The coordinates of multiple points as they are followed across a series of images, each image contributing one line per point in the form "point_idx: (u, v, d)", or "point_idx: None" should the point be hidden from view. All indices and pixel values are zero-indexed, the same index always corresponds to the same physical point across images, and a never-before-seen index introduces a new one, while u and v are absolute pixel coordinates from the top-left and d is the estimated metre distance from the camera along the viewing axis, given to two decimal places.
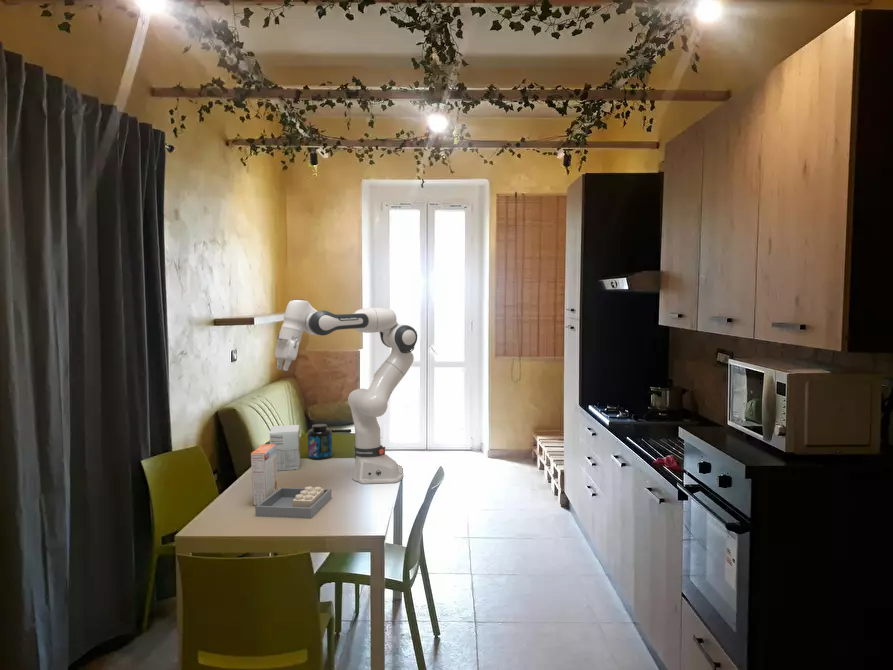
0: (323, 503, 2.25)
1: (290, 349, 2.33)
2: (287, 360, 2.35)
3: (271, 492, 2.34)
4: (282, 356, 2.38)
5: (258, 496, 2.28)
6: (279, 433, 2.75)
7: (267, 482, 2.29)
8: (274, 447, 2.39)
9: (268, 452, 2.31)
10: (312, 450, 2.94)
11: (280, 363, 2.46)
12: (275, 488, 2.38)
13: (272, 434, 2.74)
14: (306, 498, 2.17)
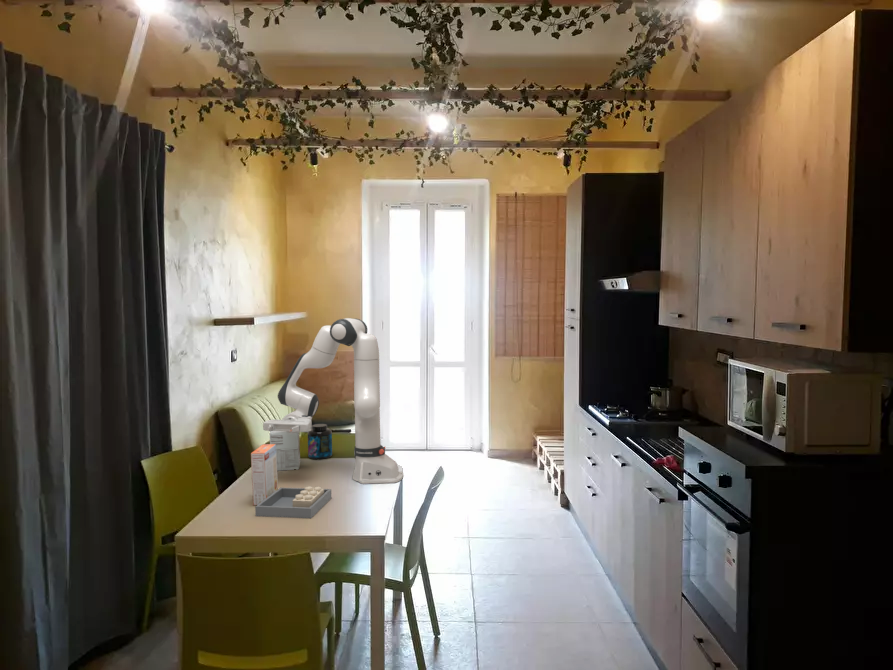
0: (323, 503, 2.25)
1: None
2: None
3: (271, 492, 2.34)
4: (279, 430, 2.55)
5: (258, 496, 2.28)
6: (279, 433, 2.75)
7: (267, 482, 2.29)
8: (274, 447, 2.39)
9: (268, 452, 2.31)
10: (312, 450, 2.94)
11: None
12: (275, 488, 2.38)
13: (272, 434, 2.74)
14: (306, 498, 2.17)
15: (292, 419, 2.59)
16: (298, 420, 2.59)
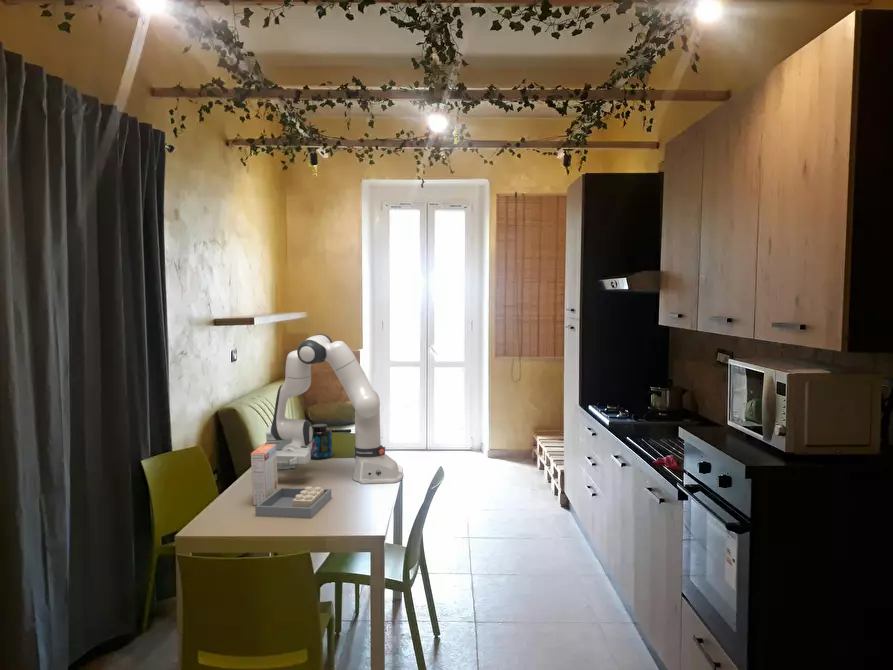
0: (323, 503, 2.25)
1: None
2: None
3: (271, 492, 2.34)
4: (278, 462, 2.53)
5: (258, 496, 2.28)
6: None
7: (267, 482, 2.29)
8: (274, 447, 2.39)
9: (268, 452, 2.31)
10: (312, 450, 2.94)
11: None
12: (275, 488, 2.38)
13: (268, 433, 2.76)
14: (306, 498, 2.17)
15: (291, 450, 2.58)
16: (297, 451, 2.57)
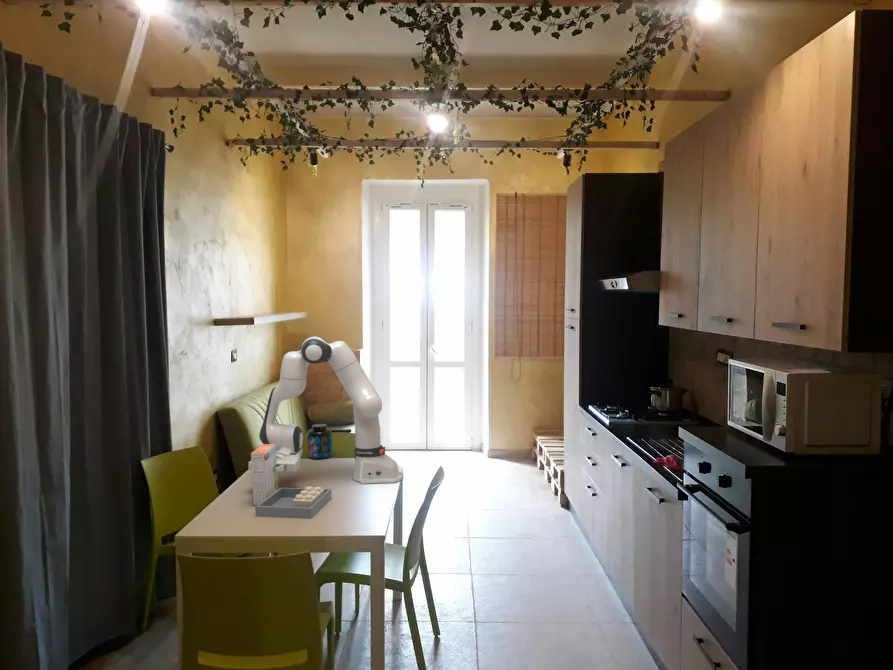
0: (323, 503, 2.25)
1: None
2: None
3: (271, 492, 2.34)
4: None
5: (258, 496, 2.28)
6: None
7: (267, 482, 2.29)
8: (274, 447, 2.39)
9: (268, 452, 2.31)
10: (312, 450, 2.94)
11: None
12: (275, 488, 2.38)
13: None
14: (306, 498, 2.17)
15: (279, 457, 2.46)
16: (285, 458, 2.46)
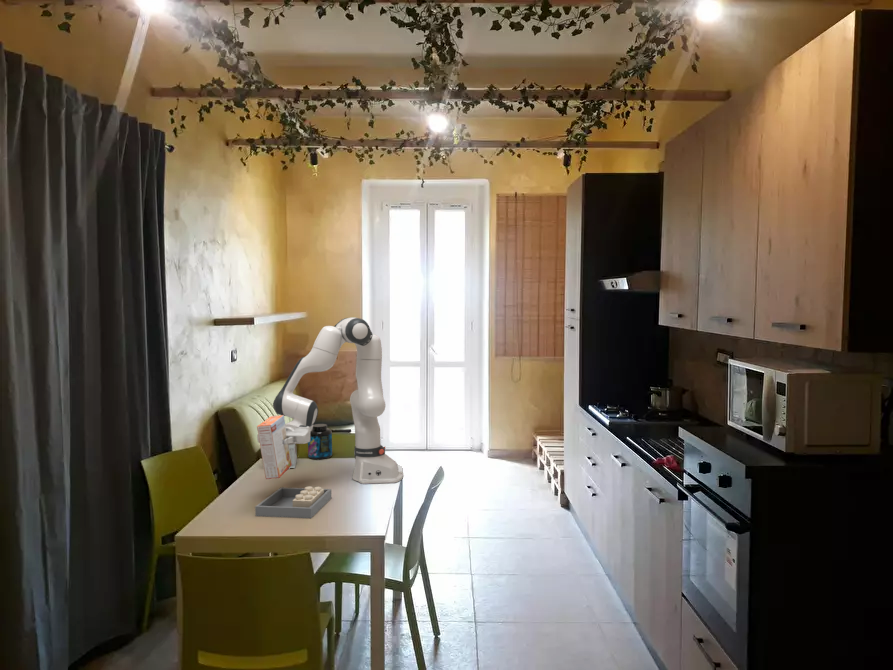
0: (323, 503, 2.25)
1: None
2: None
3: (283, 464, 2.26)
4: None
5: (270, 469, 2.21)
6: None
7: (277, 454, 2.22)
8: (282, 418, 2.30)
9: (275, 424, 2.23)
10: (312, 450, 2.94)
11: None
12: (287, 460, 2.31)
13: None
14: (306, 498, 2.17)
15: (289, 430, 2.38)
16: (295, 431, 2.38)
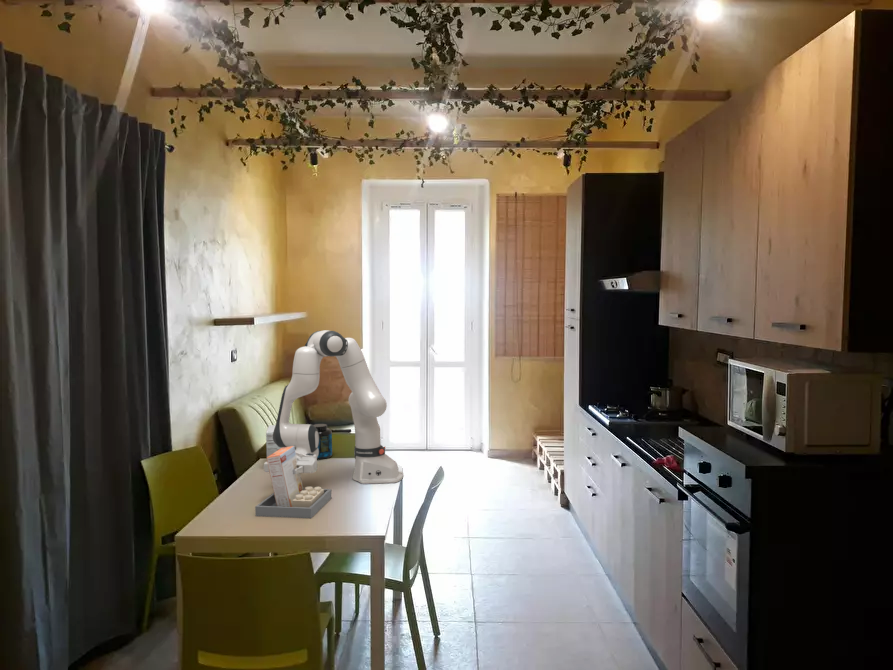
0: (323, 503, 2.25)
1: None
2: None
3: (295, 495, 2.23)
4: None
5: (281, 501, 2.18)
6: None
7: (288, 485, 2.19)
8: (292, 449, 2.29)
9: (285, 454, 2.21)
10: None
11: None
12: None
13: (268, 433, 2.76)
14: (306, 498, 2.17)
15: None
16: (302, 459, 2.35)
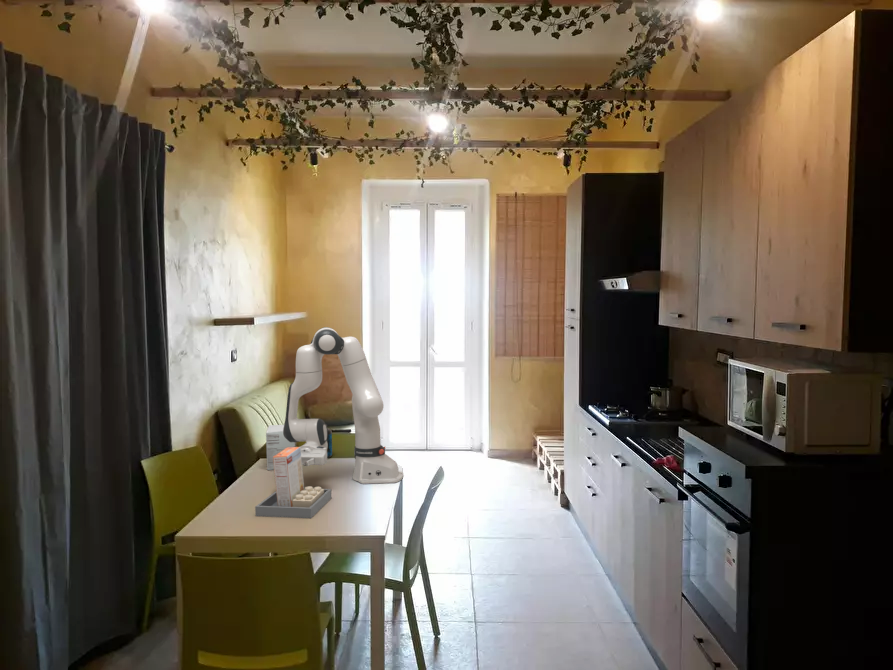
0: (323, 503, 2.25)
1: None
2: None
3: None
4: None
5: (283, 501, 2.18)
6: (275, 432, 2.77)
7: (291, 486, 2.19)
8: (298, 450, 2.28)
9: (291, 455, 2.21)
10: None
11: None
12: None
13: (268, 433, 2.76)
14: (306, 498, 2.17)
15: (307, 451, 2.46)
16: (313, 452, 2.46)
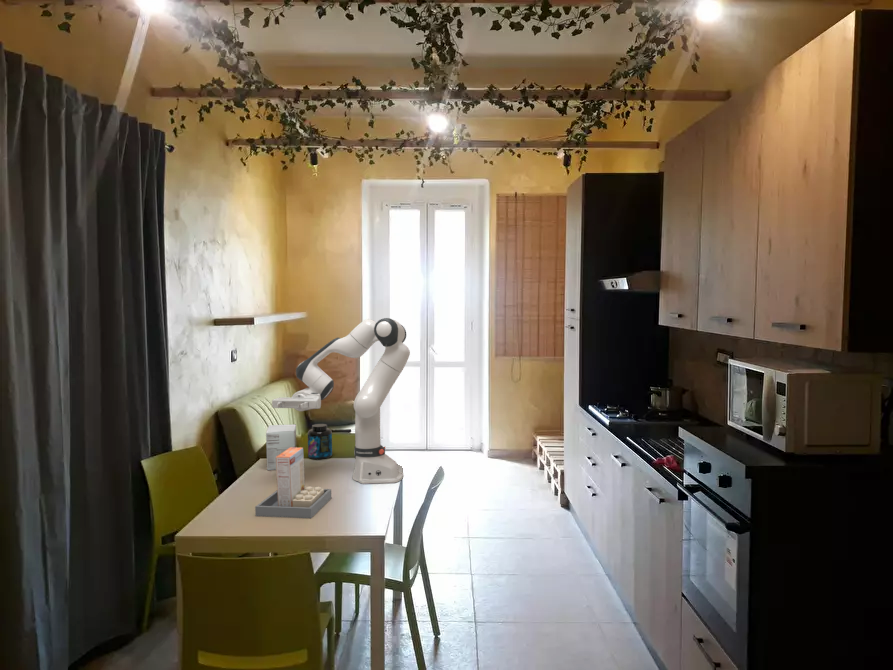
0: (323, 503, 2.25)
1: None
2: None
3: None
4: None
5: (284, 502, 2.18)
6: (275, 432, 2.77)
7: (292, 487, 2.19)
8: (301, 451, 2.28)
9: (294, 456, 2.21)
10: (312, 450, 2.94)
11: None
12: None
13: (268, 433, 2.76)
14: (306, 498, 2.17)
15: (301, 396, 2.57)
16: (307, 397, 2.56)
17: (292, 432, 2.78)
